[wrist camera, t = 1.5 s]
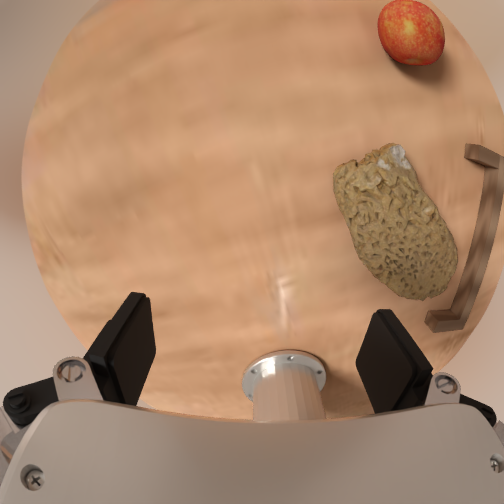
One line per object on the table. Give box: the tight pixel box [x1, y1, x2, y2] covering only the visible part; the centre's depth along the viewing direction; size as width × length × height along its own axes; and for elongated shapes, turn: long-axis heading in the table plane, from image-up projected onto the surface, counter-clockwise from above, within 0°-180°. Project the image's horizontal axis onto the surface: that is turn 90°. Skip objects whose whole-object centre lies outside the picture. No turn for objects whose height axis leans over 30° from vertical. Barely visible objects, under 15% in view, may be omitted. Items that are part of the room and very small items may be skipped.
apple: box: [378, 0, 445, 65], centre depth 19 cm, size 8×8×8 cm
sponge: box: [333, 143, 458, 301], centre depth 28 cm, size 13×8×20 cm
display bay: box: [425, 144, 504, 333], centre depth 30 cm, size 27×7×3 cm, turn 176°
